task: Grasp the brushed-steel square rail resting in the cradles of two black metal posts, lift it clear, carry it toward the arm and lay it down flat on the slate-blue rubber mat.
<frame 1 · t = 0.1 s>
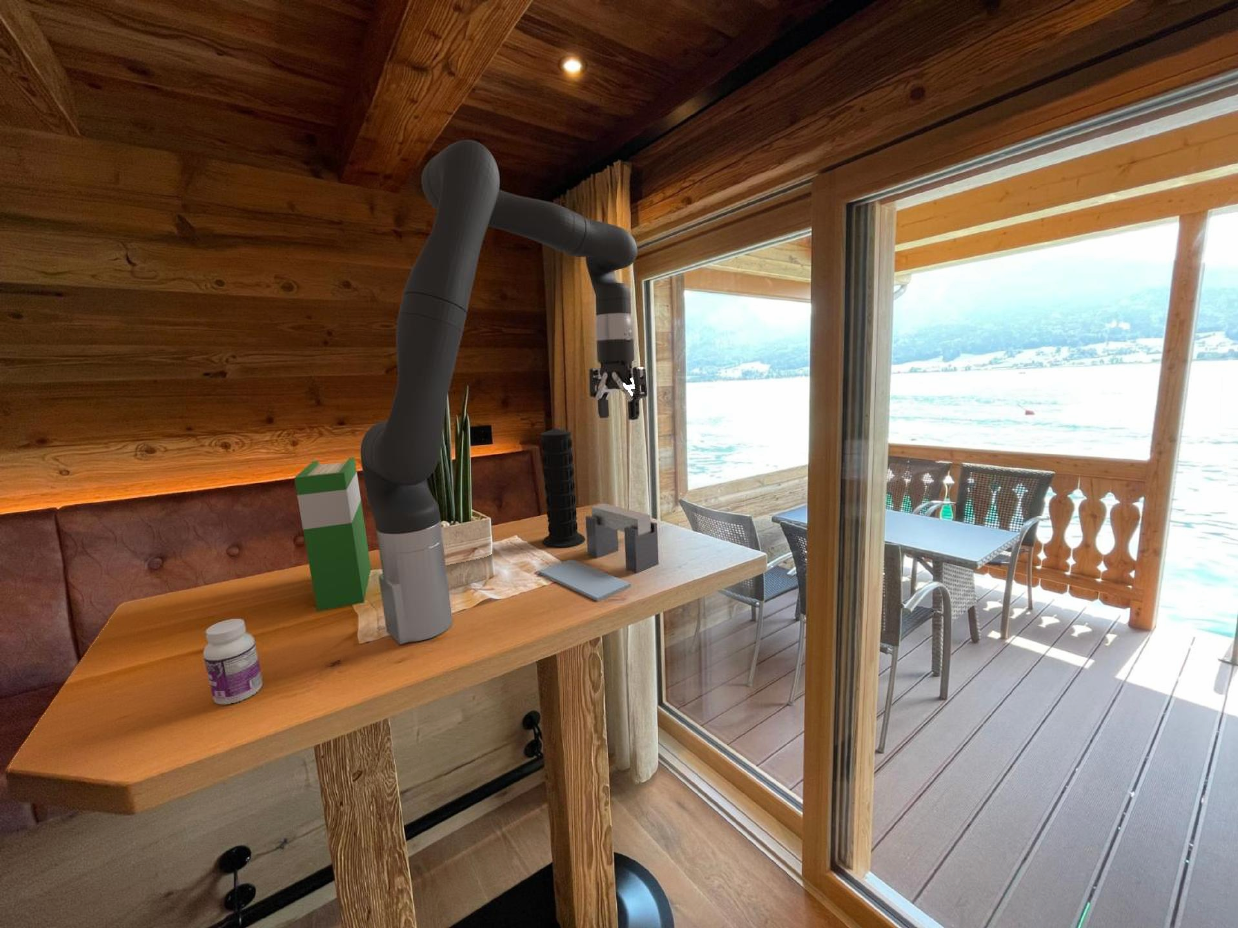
hand: (618, 418, 107), 29 cm above the table, fingers open, 8 cm apart
mat: (583, 579, 98), on the table
rail: (620, 527, 106), point 7 cm above the table, touching post left, post right
handle grip: (563, 541, 121), on the table
post right: (642, 566, 103), on the table
post left: (603, 552, 112), on the table
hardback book: (346, 588, 100), on the table
pill bottle: (239, 694, 68), on the table
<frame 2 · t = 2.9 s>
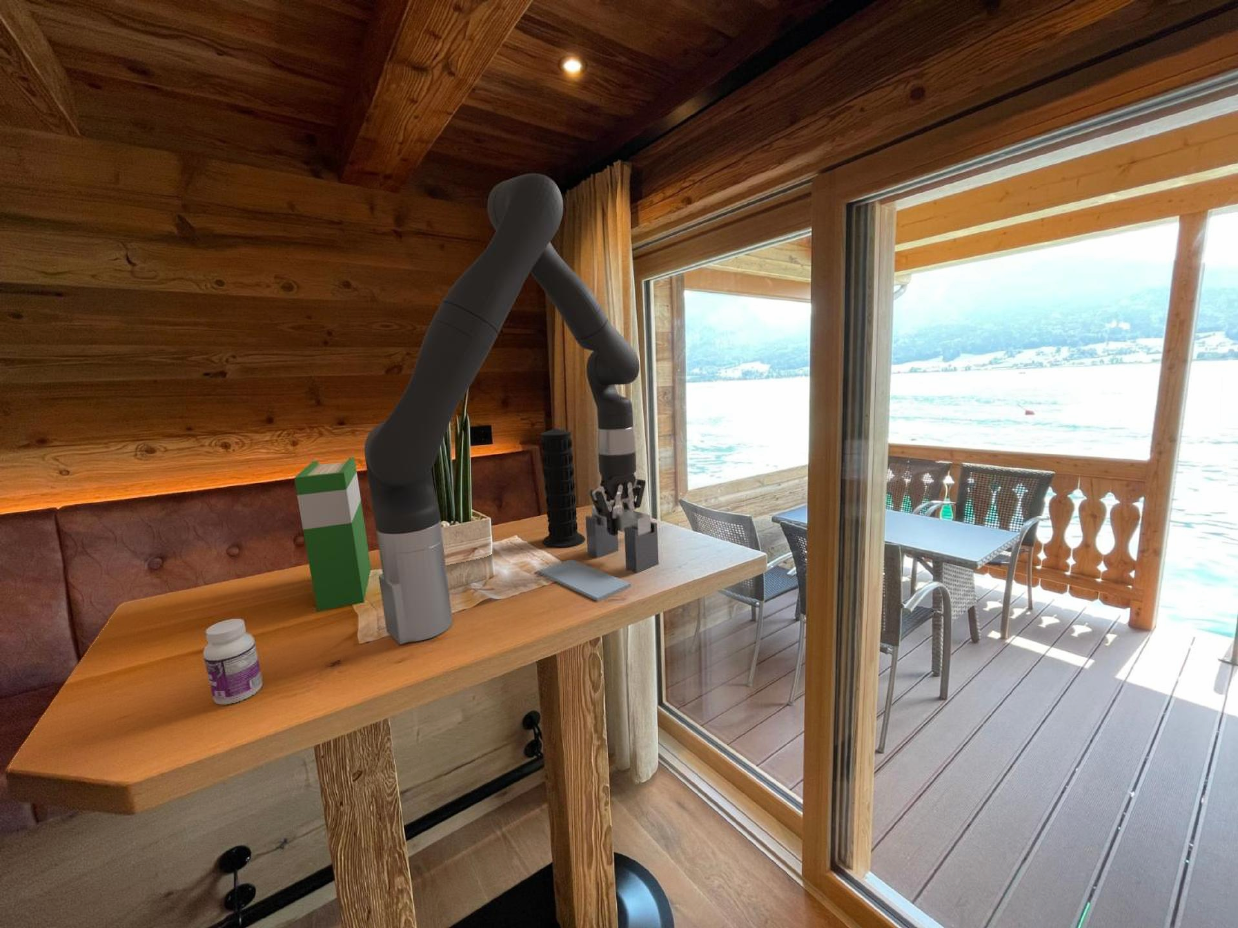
hand: (620, 531, 106), 6 cm above the table, fingers closed on rail, 3 cm apart
rail: (620, 527, 106), point 7 cm above the table, touching gripper, post left, post right
everything else where it was.
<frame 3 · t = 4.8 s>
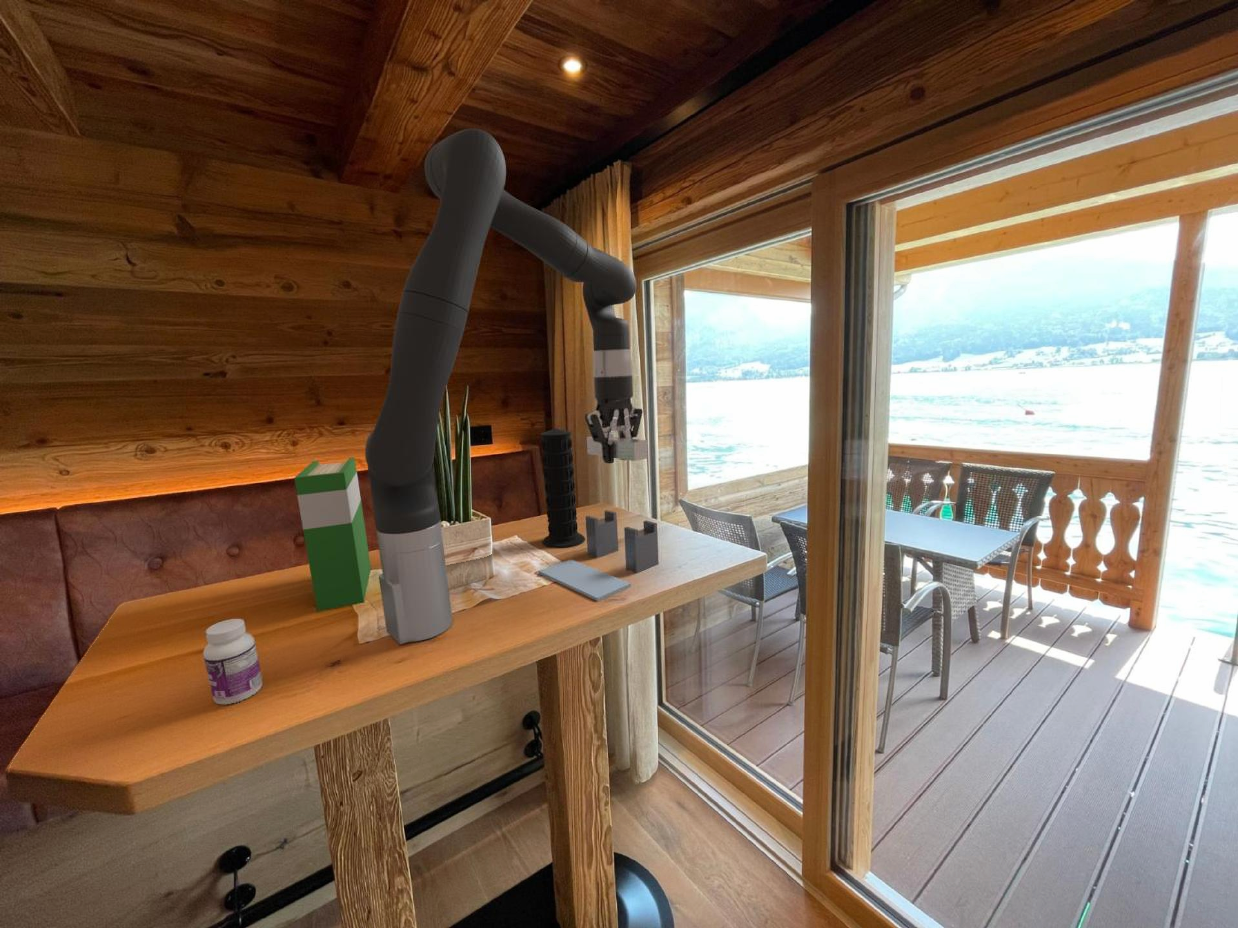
hand: (616, 460, 103), 21 cm above the table, fingers closed on rail, 3 cm apart
rail: (616, 456, 103), point 22 cm above the table, touching gripper
everything else where it was.
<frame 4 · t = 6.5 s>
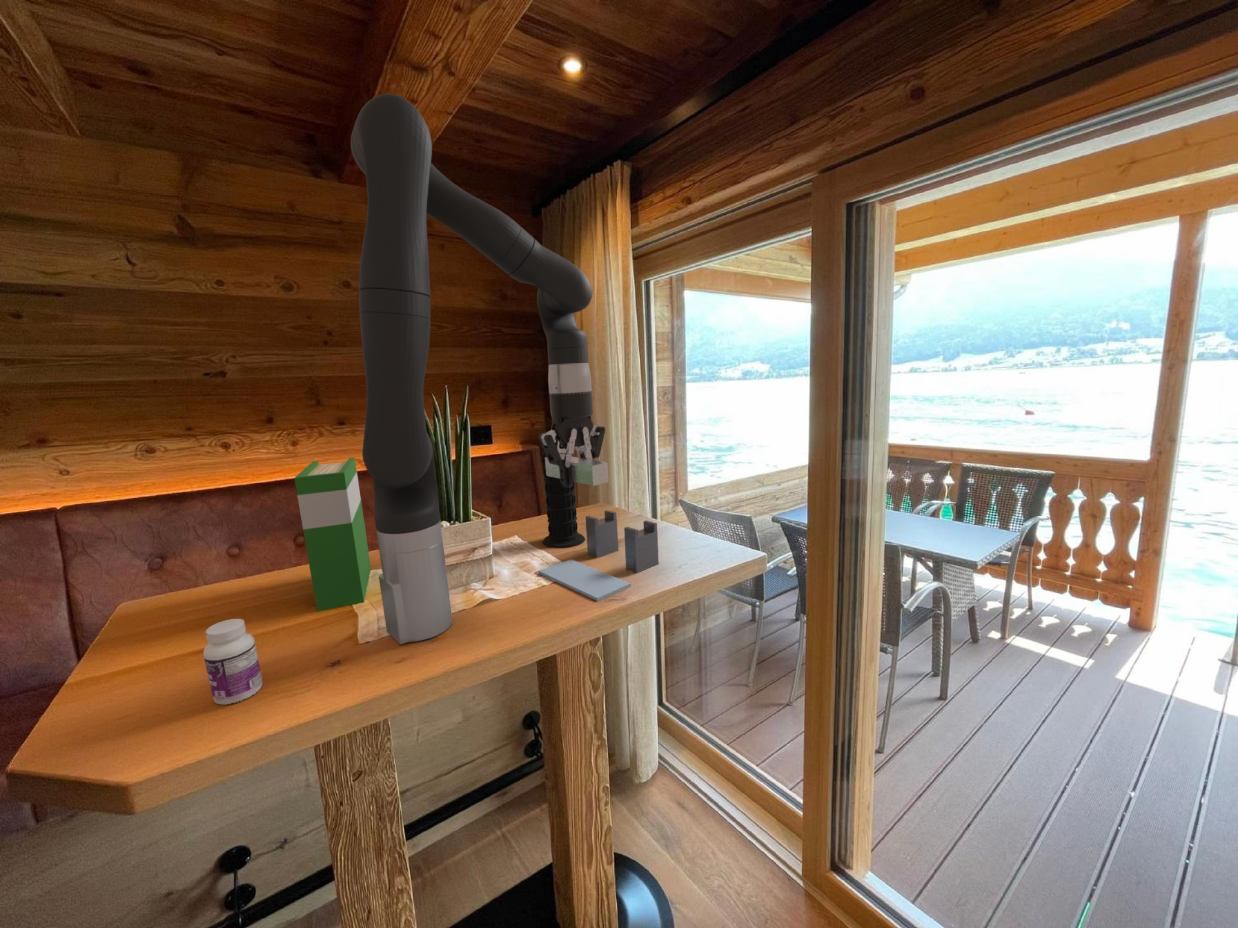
hand: (576, 484, 94), 19 cm above the table, fingers closed on rail, 3 cm apart
rail: (576, 478, 94), point 20 cm above the table, touching gripper
everything else where it was.
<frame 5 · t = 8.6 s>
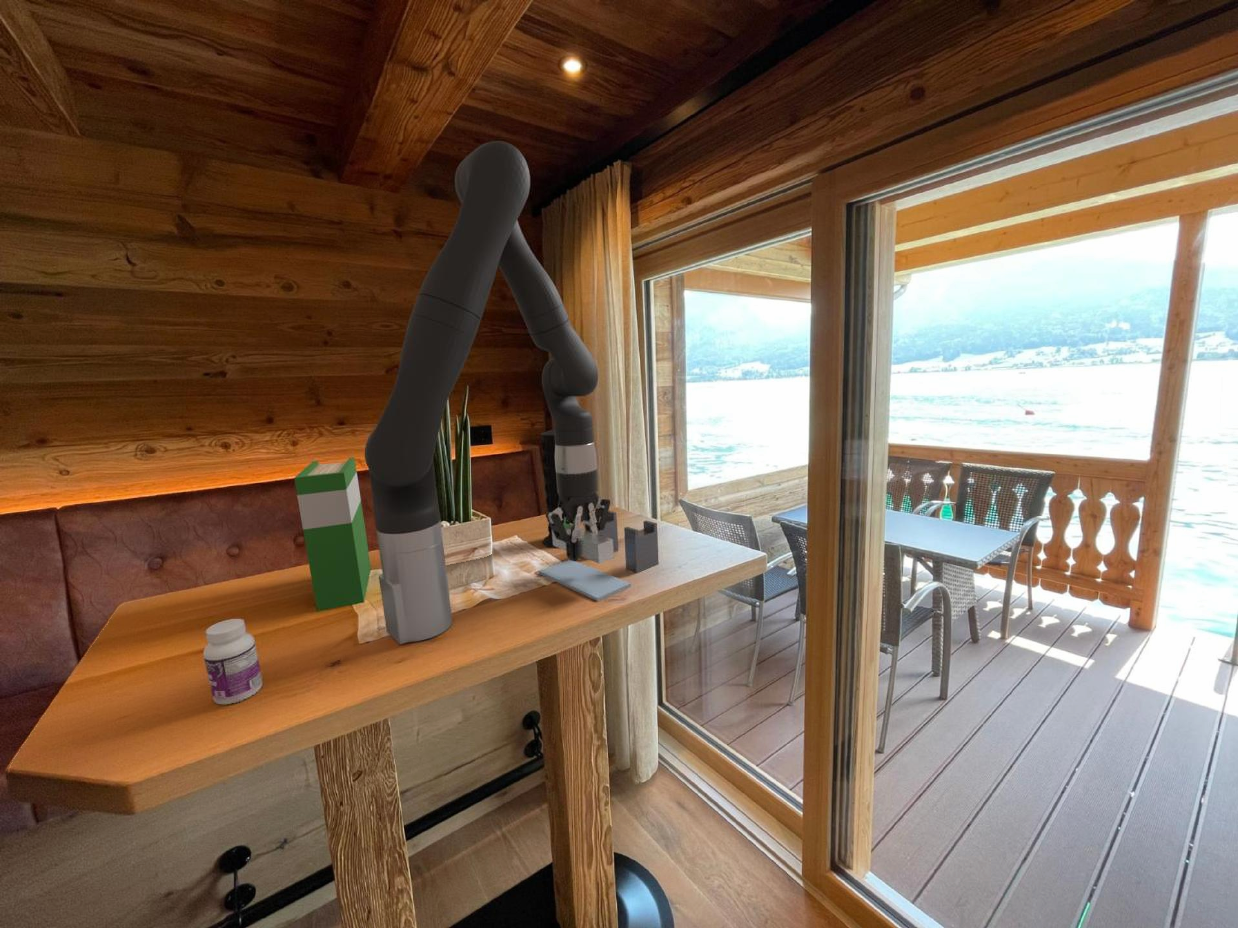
hand: (582, 556, 97), 5 cm above the table, fingers closed on rail, 3 cm apart
rail: (582, 551, 97), point 6 cm above the table, touching gripper
everything else where it was.
when the fingers open (2 cm above the table, at t = 10.1 s): rail drops 2 cm, resting on mat.
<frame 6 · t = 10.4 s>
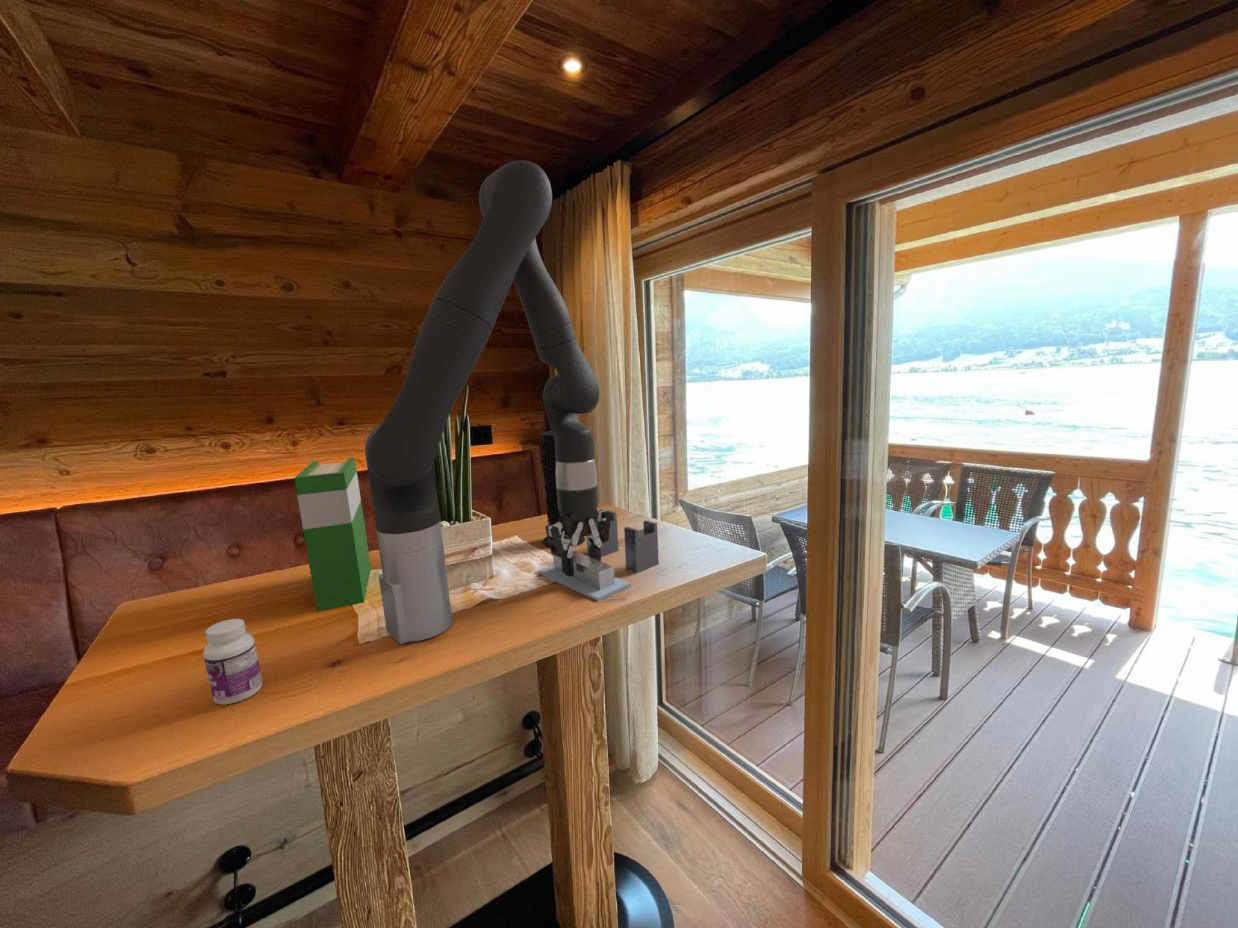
hand: (582, 569, 98), 2 cm above the table, fingers open, 5 cm apart
rail: (583, 576, 98), point 1 cm above the table, touching mat
everything else where it was.
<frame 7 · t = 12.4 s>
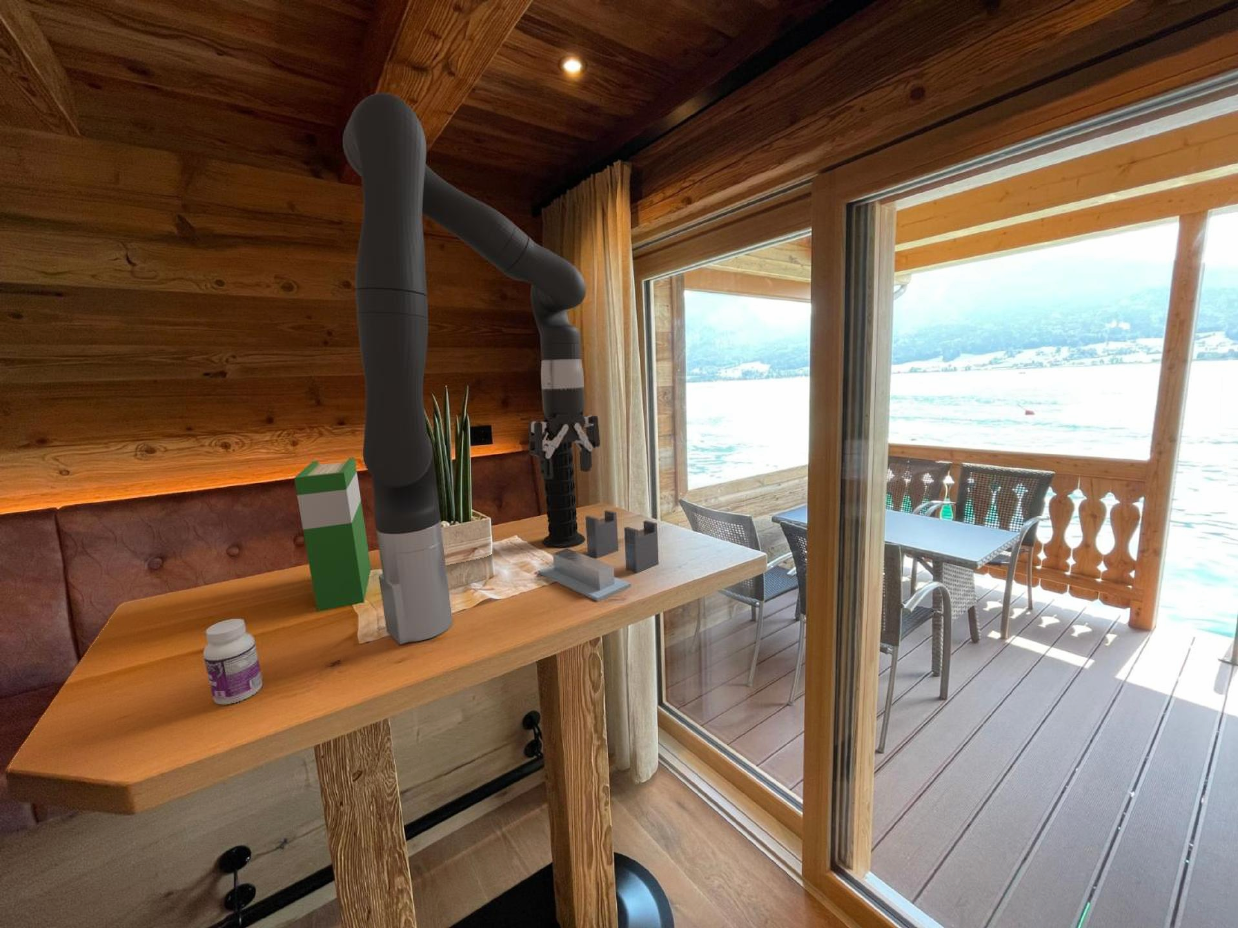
hand: (567, 474, 95), 20 cm above the table, fingers open, 8 cm apart
nothing on the table moved.
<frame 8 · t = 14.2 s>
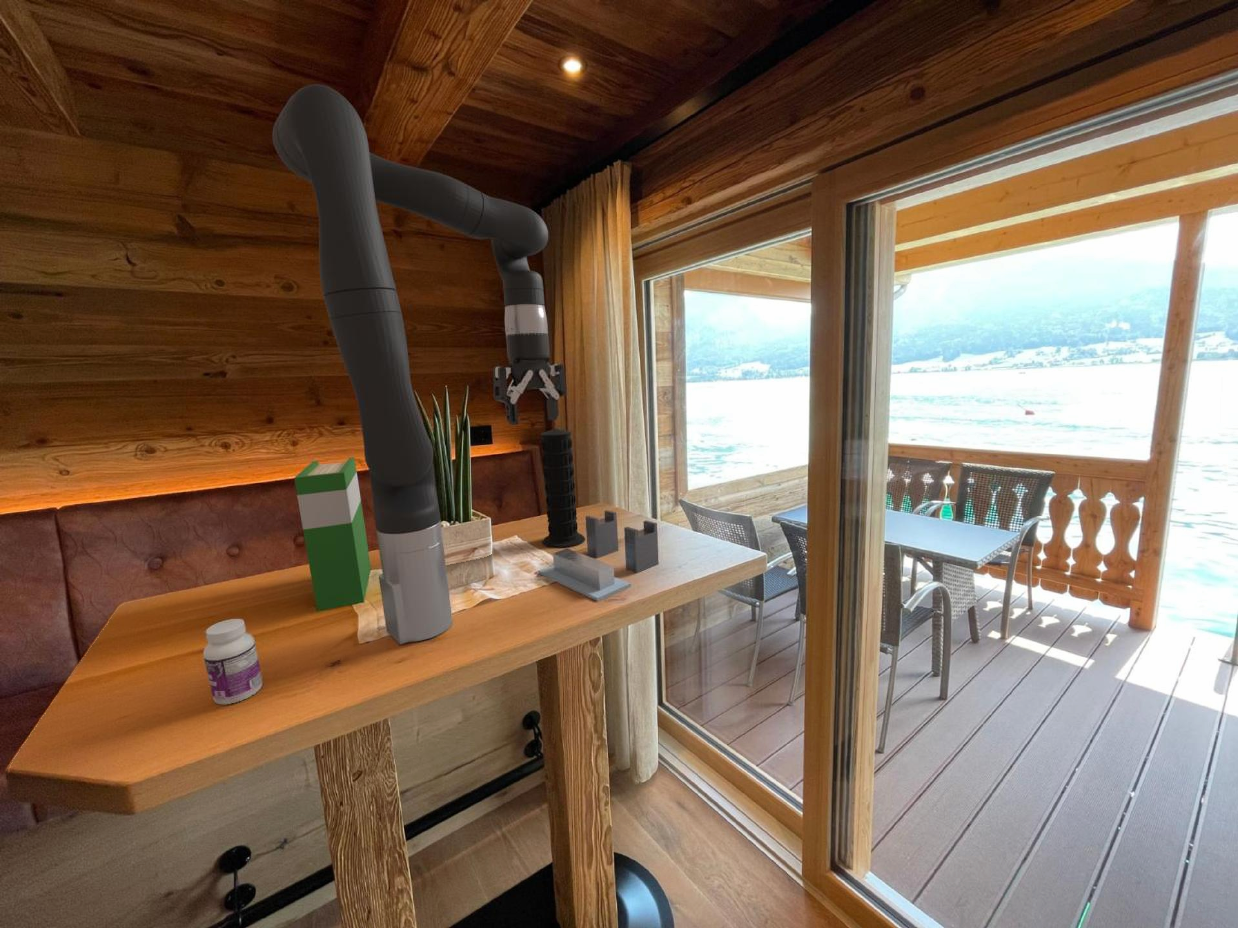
hand: (534, 422, 96), 30 cm above the table, fingers open, 8 cm apart
nothing on the table moved.
at the end: rail inside the target area on the mat (0.0 cm from its centre), point 0.6 cm above the mat's base; rail touching mat; the gripper is holding nothing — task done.
